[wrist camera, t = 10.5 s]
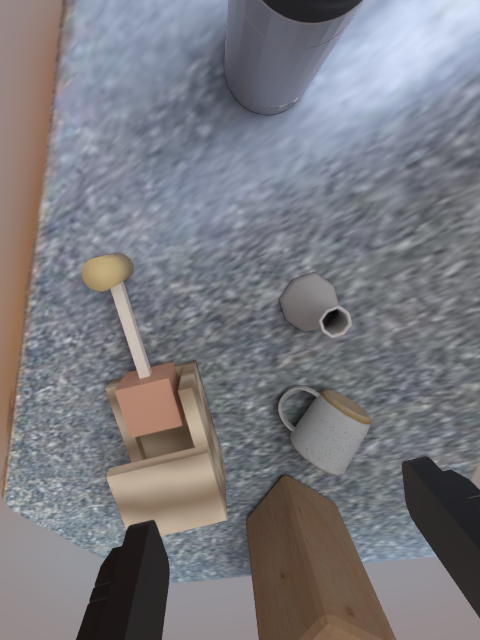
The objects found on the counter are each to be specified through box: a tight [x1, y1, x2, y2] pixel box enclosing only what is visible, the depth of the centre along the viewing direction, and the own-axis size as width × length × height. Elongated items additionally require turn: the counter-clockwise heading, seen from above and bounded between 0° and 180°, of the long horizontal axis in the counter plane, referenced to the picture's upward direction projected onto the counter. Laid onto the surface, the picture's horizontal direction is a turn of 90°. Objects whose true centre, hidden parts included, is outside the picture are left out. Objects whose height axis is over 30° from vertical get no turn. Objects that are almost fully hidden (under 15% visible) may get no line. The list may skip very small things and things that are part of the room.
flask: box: [279, 272, 352, 339], centre depth 39 cm, size 7×7×10 cm
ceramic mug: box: [278, 385, 371, 475], centre depth 44 cm, size 11×8×8 cm
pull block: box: [82, 253, 185, 438], centre depth 38 cm, size 20×6×7 cm, turn 13°
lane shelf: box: [105, 360, 227, 536], centre depth 42 cm, size 16×11×10 cm
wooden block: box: [246, 475, 396, 640], centre depth 41 cm, size 10×10×20 cm
